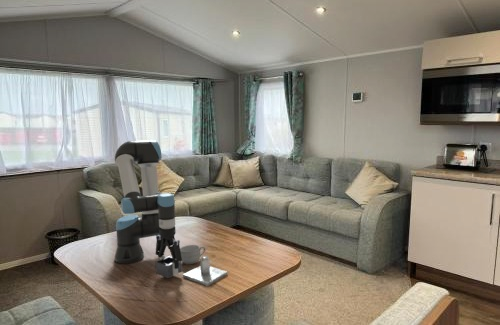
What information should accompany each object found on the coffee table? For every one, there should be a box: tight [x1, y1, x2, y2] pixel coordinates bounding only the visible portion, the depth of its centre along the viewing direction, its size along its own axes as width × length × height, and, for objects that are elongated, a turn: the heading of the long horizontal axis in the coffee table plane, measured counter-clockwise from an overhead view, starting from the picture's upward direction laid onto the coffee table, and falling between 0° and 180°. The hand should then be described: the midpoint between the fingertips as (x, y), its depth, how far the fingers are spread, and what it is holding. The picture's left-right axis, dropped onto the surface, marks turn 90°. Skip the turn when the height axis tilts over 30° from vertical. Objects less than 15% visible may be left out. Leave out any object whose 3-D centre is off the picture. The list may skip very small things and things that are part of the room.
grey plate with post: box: [182, 255, 228, 287], centre depth 162 cm, size 16×14×10 cm
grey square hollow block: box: [155, 255, 183, 279], centre depth 161 cm, size 8×8×6 cm
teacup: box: [180, 244, 207, 265], centre depth 179 cm, size 14×11×8 cm
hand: (168, 271), depth 161 cm, fingers closed on grey square hollow block, 8 cm apart
